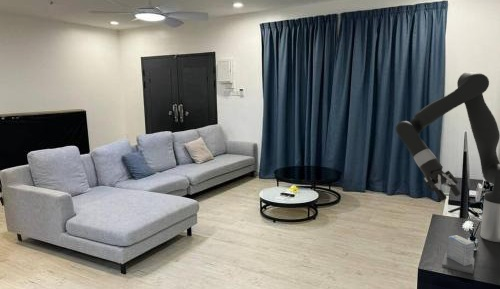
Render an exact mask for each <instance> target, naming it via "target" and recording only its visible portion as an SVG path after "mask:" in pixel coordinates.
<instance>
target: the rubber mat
mask: <svg viewBox="0 0 500 289" xmlns="http://www.w3.org/2000/svg"><path fill="white" fill-rule="evenodd" d="M475 260H476V259H475V257H473V264H470V265H467V266H463V265H461V264H459V263H458V262H456V261H454V260H452V259H450V258H448V257H447V251H445V252H444V257H443V259H442V263H441V267H442V268H447V269H451V270H455V271H459V272H462V273H463V272H464V273H467V274H471V275H473V274H474V268H475Z"/></svg>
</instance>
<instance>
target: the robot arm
mask: <svg viewBox="0 0 500 289" xmlns="http://www.w3.org/2000/svg"><path fill="white" fill-rule="evenodd" d="M489 86H490V80H489V78H488V76H487V75H485V74H484V73H481V72H475V71H467V72H464V73H462V74H461V75H459V77H458V79H457V88H456V89H455V90H453V91H452V92H450V93H449V94H447V95H445V96H443V97H441V98H439V99H437V100H435V101H433V102H430V103H429V104H428V105H426V106H424V107H423V108H422V109H420V110H418V111H417V112H416V113H415V114H414V116H413V118H412V119H411V120H409V121H408V120H402V121H400V122H398V123H397V124H396V127H395V132H396V134H397V135H398V137H399V138H400V140H401V141H402V142H403V144H404V145H405V146H406V148H407V150H408V152H409V153H410V155H411V157H412V158H413V159H414V161H415V163H416V165H417V166H418V168H419V169H420V171H421V172H422V173H423V175H424V176H425V177H423V178H422V180H423V182H424V184H425V185H426V187H427V188H428V190H429V192H430V193H433V192H434V194H435V193H436V195H437V196H438V198H439V199H440V200H441V201H445V200H447V196H446V195H445V193H444V191H443V190H442V189H441V185H442V186H447V187H448V188H449V189H450V190H451V192H452V193H453V194H454V196H455V197H459V196H460V195H461V191H460V190H459V188H458V187H457V184H458V183H459V182H458V180H457V179H456V178H455V176H454V175H453V174H452V172H451V171H450V170H447V171H445V172H444V171H443V166H442V164H441V162H440V161H439V160H438V158H437V157H436V154H434V153H433V152H432V150H430V148H429V146H427V144H426V143H425V141H424V140H423V139H422V138H421V137H420V135H419V134H420V133H421V132H423V131H424V129H425V128H426V127H428V126H429V125H431V124H432V123H434V122H435V121H437V120H438V119H439V118H442V116H444V115H445V114H447V113H448V112H451V111H452V110H454V109H456V108H457V107H459V106H461V105H462V104H464V106H465V109H466V112H467V117H468V121H469V125H470V129H471V132H472V135H473V139H474V142H475V145H476V148H477V153H478V156H479V160H480V168H481V173H482V177H483V178H484V180H485V181H486V182H487V183H489V184H492V185H493V188H492V191H487V192H485V193H484V198H483V208H482V217H481V226H480V237H481V238H482V239H484V240H486V241H490V242H494V243H500V160H499V158H498V154H497V147H498V145H499V141H500V131H499V126H498V123H497V121H496V118H495V116H494V115H493V113H492V111H491V110H490V108H489V106H488V105H487V103H486V100H485V99H484V95H483V94H484V93H485V92H486V91H487V90H488V88H489Z"/></svg>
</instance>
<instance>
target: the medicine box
mask: <svg viewBox="0 0 500 289" xmlns="http://www.w3.org/2000/svg"><path fill="white" fill-rule="evenodd" d="M446 252H447V257H448V258H450V259H452V260H454V261H456V262H458V263H459V264H461V265H463V266H467V265H470V264H473V258H474V252H475V242H473V241H471V240H469V239H466V238H464V237H462V236H461V235H458V234H456V235H450V236H448V238H447V248H446Z"/></svg>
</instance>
